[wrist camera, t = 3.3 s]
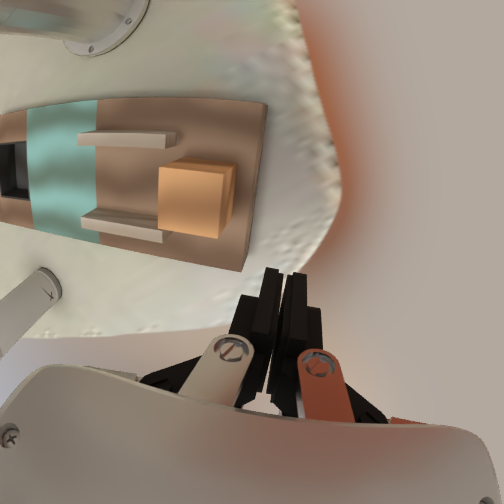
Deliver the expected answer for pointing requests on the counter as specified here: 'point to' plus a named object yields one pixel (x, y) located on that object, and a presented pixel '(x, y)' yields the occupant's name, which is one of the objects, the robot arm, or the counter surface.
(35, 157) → the board
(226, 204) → the block
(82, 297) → the counter surface
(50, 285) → the travel mug
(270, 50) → the counter surface
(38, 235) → the counter surface
